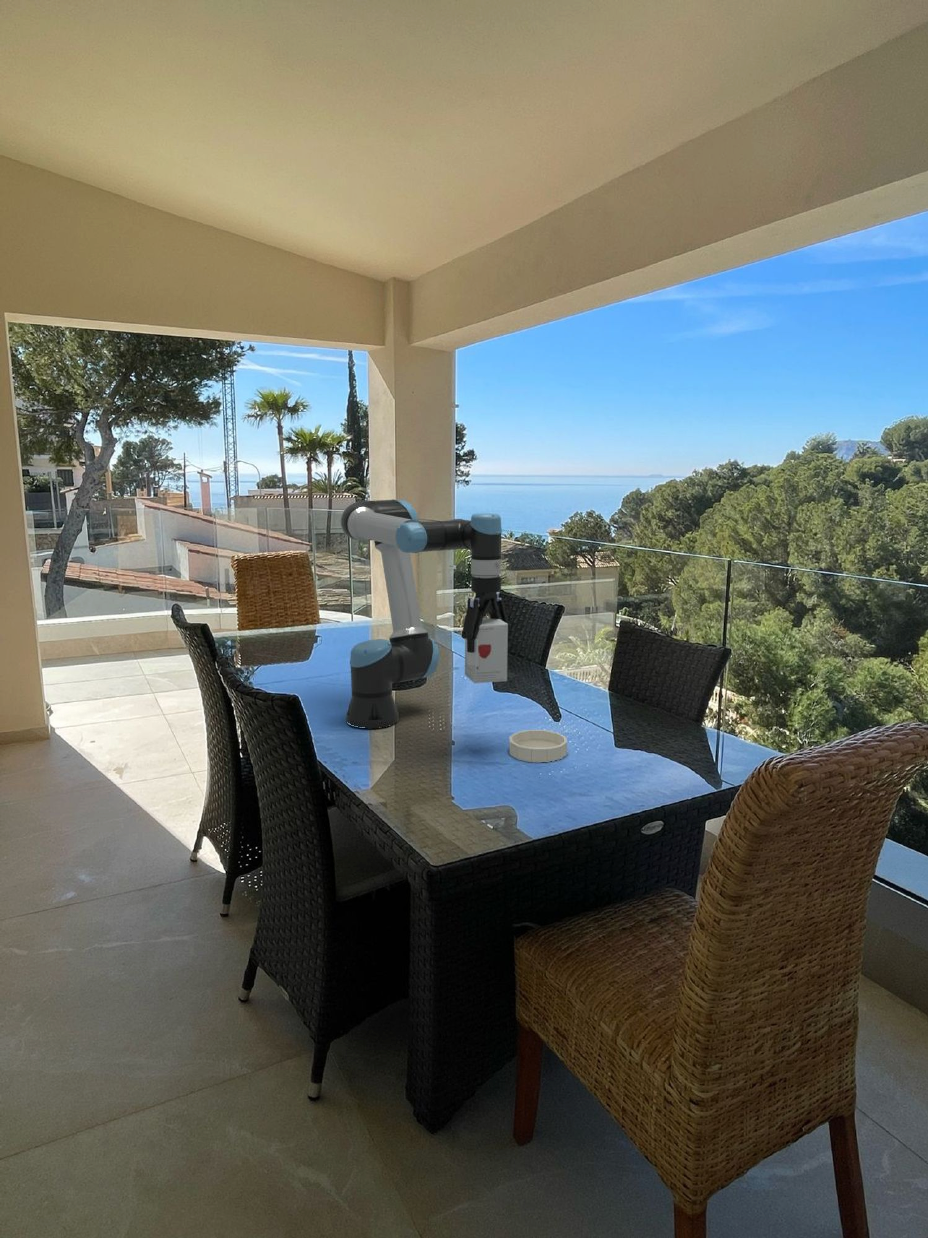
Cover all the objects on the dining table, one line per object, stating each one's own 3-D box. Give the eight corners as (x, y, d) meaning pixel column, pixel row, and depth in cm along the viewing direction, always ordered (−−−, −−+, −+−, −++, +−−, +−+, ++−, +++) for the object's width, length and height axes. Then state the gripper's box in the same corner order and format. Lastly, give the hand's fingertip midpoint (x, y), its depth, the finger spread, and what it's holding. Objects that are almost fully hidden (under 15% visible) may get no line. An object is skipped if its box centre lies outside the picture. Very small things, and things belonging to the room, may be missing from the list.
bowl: (499, 755, 197) (499, 742, 196) (526, 739, 209) (526, 726, 208) (550, 766, 189) (551, 753, 188) (575, 748, 201) (575, 736, 200)
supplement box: (473, 684, 192) (473, 625, 189) (464, 675, 201) (464, 618, 198) (508, 681, 195) (508, 623, 192) (497, 672, 203) (497, 617, 200)
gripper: (473, 582, 181) (473, 671, 185) (522, 571, 201) (521, 651, 205) (446, 580, 185) (447, 667, 189) (497, 569, 205) (497, 648, 209)
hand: (485, 659), depth 197 cm, fingers closed on supplement box, 12 cm apart
